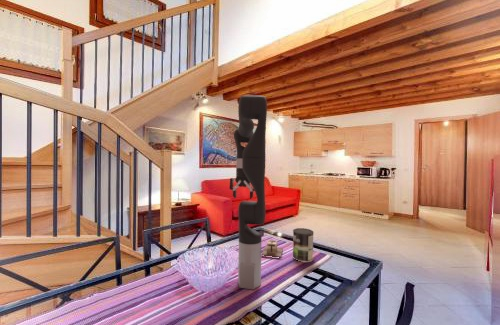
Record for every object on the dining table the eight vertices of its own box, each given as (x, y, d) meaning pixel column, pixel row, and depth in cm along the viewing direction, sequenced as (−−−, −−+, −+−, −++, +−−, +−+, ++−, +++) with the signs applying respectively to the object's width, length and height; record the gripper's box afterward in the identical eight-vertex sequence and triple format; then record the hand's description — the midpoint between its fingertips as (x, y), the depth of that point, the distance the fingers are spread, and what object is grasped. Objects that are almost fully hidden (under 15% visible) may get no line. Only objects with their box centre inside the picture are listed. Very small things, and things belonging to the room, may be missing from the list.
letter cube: (276, 253, 123) (276, 243, 123) (266, 252, 124) (266, 242, 124) (277, 249, 128) (277, 240, 128) (268, 249, 129) (268, 239, 129)
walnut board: (280, 258, 119) (280, 256, 119) (261, 256, 121) (261, 254, 121) (282, 250, 131) (282, 248, 131) (265, 248, 133) (265, 246, 133)
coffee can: (298, 263, 114) (299, 234, 114) (289, 255, 124) (289, 228, 124) (317, 261, 117) (317, 233, 117) (306, 253, 127) (306, 227, 127)
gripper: (228, 167, 120) (227, 198, 120) (255, 167, 117) (254, 200, 117) (232, 167, 128) (232, 196, 128) (258, 167, 124) (257, 197, 124)
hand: (243, 198), depth 122 cm, fingers open, 8 cm apart
